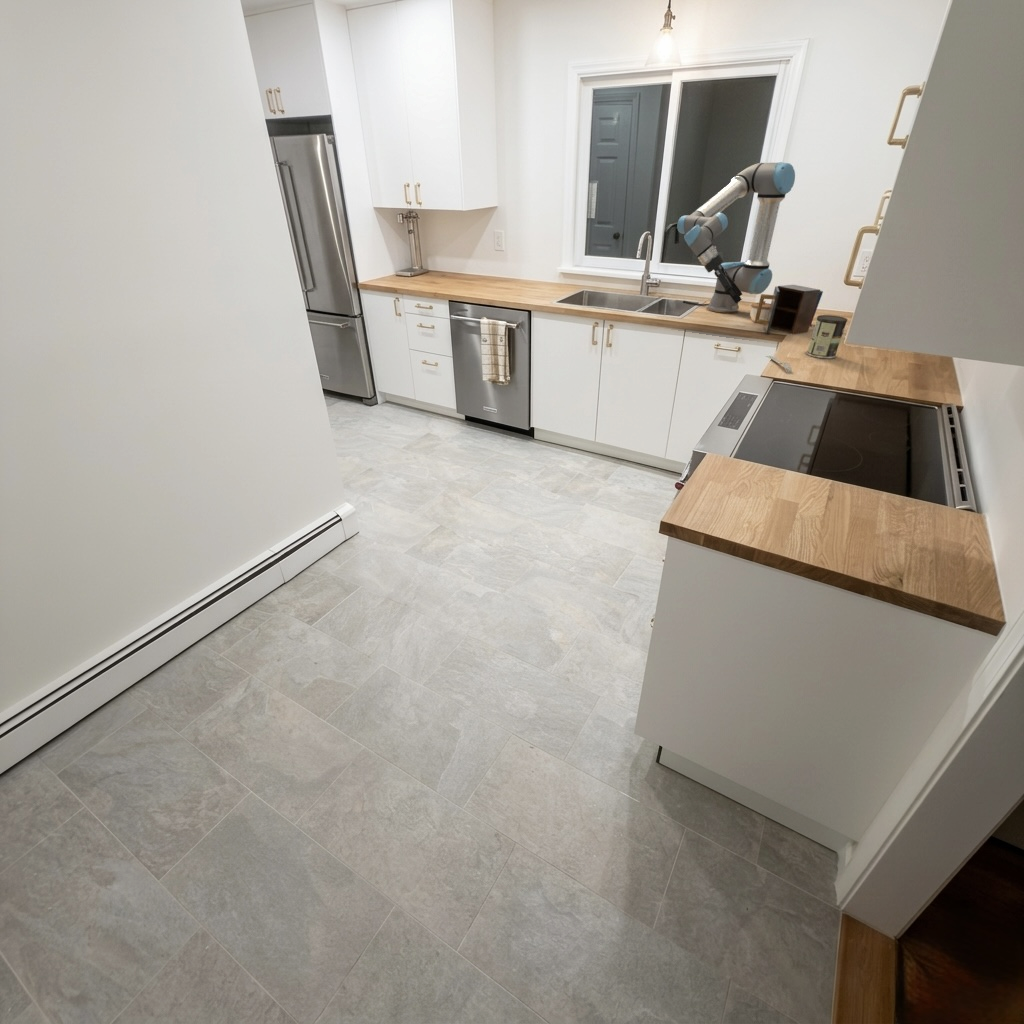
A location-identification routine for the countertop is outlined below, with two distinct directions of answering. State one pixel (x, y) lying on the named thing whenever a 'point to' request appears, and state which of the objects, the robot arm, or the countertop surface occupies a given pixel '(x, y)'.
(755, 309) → the trinket box
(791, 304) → the cupboard
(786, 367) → the fork
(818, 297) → the brown tall block
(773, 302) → the cupboard door
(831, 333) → the coffee can
